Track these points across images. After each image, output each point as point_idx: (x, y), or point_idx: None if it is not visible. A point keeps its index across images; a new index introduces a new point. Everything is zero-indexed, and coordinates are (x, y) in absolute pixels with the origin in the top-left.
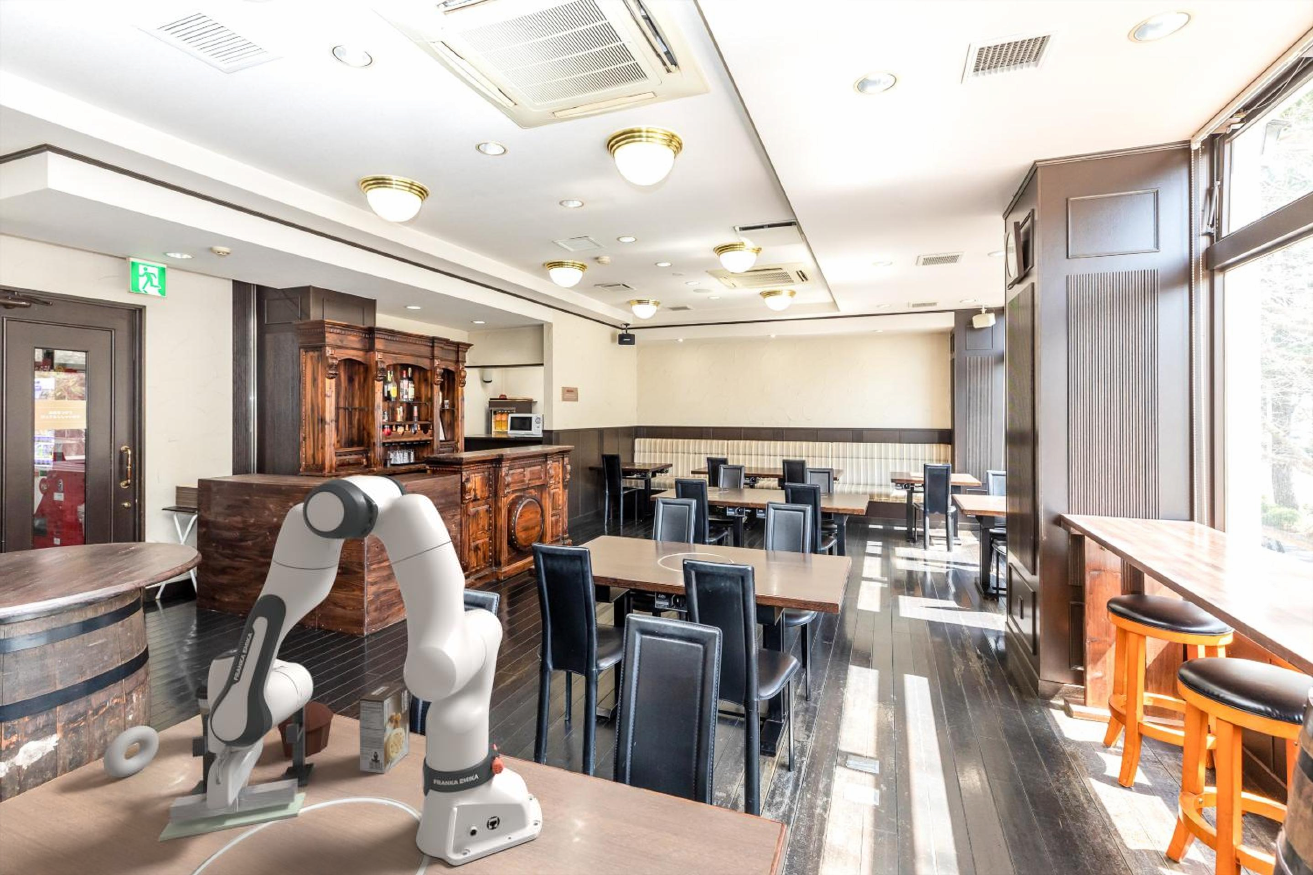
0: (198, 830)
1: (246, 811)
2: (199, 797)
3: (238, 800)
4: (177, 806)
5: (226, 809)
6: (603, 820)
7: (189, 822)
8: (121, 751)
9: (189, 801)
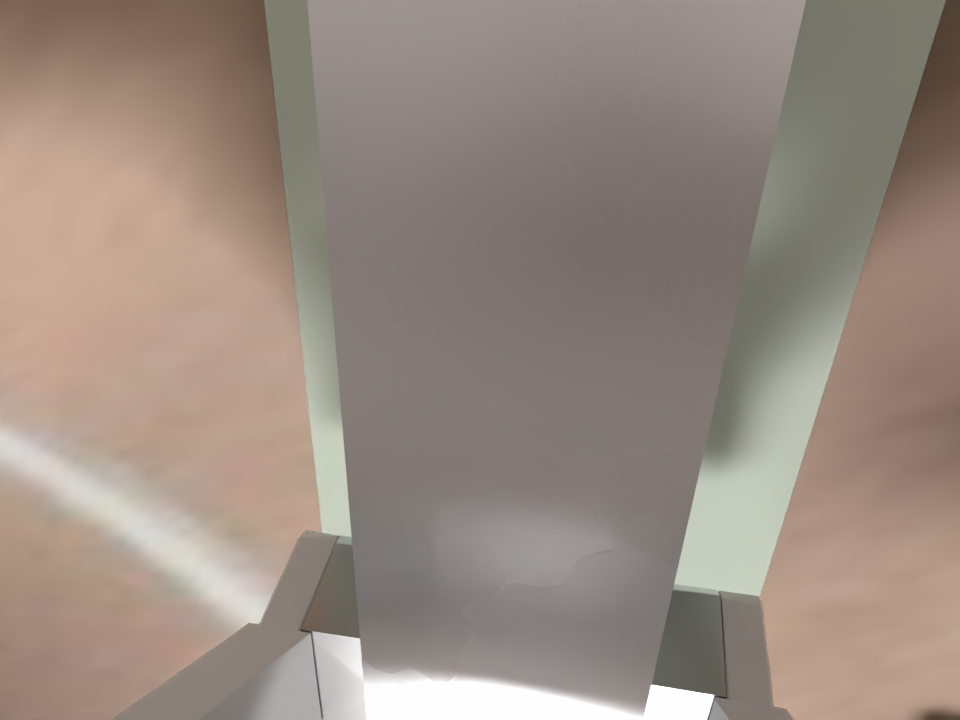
0: (287, 165)
1: None
2: (560, 301)
3: (353, 717)
4: None
5: (283, 573)
6: None
7: None
8: None
9: (453, 120)
